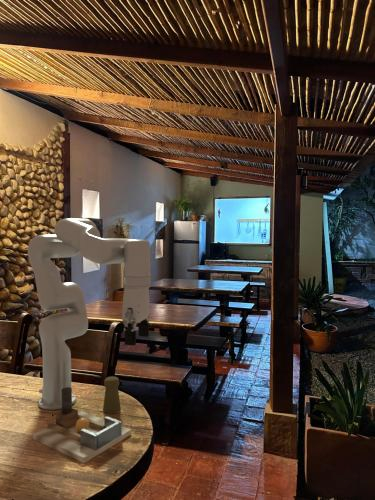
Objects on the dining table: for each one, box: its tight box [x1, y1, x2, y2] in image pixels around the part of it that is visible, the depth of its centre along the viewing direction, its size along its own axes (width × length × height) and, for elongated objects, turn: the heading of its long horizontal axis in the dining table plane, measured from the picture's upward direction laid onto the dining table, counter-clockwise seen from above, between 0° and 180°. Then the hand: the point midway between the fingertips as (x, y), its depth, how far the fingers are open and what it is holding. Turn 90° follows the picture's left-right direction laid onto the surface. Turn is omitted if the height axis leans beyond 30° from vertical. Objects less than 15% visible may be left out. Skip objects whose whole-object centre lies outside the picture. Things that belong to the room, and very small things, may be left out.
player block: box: [55, 387, 79, 429], centre depth 119 cm, size 4×5×11 cm
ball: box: [75, 418, 89, 432], centre depth 115 cm, size 4×4×4 cm
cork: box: [102, 376, 122, 414], centre depth 134 cm, size 6×6×11 cm
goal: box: [80, 416, 122, 451], centre depth 111 cm, size 6×10×4 cm, turn 146°
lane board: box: [32, 410, 132, 464], centre depth 115 cm, size 22×18×3 cm
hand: (137, 340), depth 114 cm, fingers open, 9 cm apart
